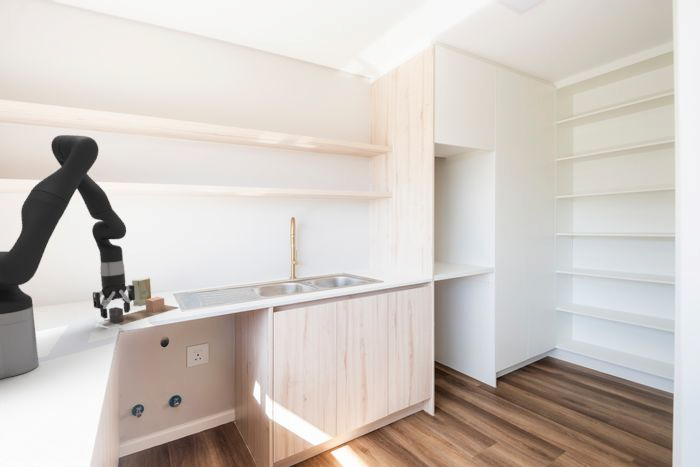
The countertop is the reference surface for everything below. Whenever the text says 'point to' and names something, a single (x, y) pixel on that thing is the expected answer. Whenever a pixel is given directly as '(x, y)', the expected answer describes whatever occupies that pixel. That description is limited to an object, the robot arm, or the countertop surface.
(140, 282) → the skincare box
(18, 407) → the countertop surface
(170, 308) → the walnut strip
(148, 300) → the terracotta block
